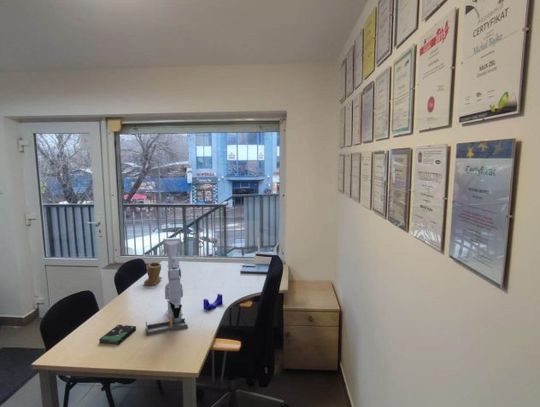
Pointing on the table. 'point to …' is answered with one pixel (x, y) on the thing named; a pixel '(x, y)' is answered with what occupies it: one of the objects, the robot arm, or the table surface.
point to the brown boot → (153, 273)
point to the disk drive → (117, 335)
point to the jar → (176, 318)
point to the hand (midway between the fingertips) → (175, 315)
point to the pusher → (170, 321)
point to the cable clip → (213, 305)
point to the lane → (164, 327)
